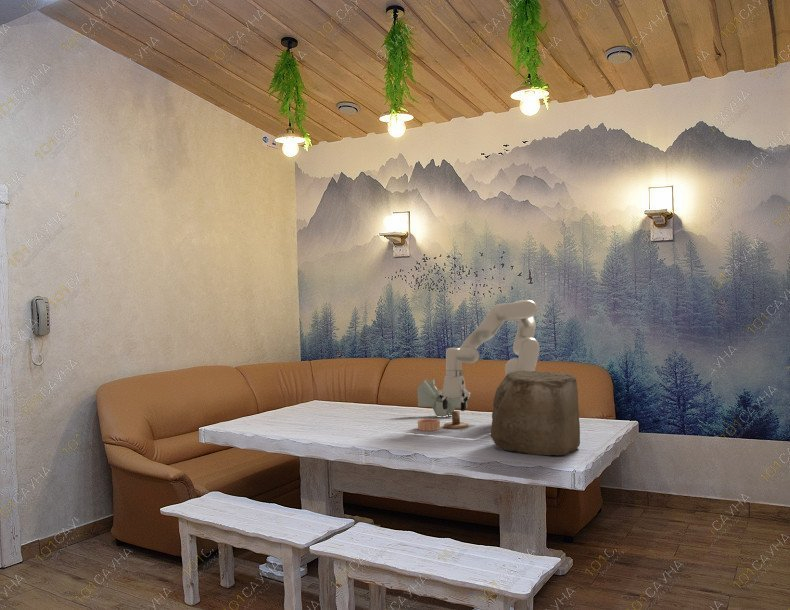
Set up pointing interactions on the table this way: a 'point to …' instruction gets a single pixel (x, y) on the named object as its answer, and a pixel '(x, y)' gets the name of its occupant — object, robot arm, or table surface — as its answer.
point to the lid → (456, 422)
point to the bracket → (436, 399)
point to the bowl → (429, 424)
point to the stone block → (536, 413)
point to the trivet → (458, 429)
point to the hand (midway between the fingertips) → (454, 409)
